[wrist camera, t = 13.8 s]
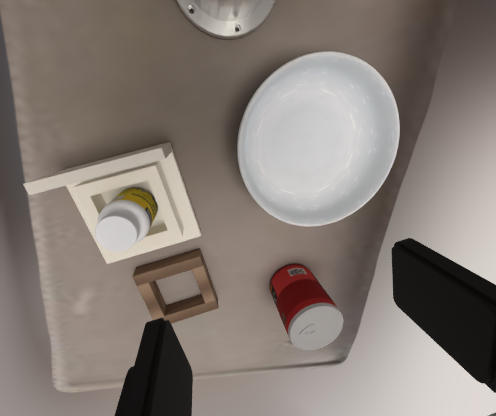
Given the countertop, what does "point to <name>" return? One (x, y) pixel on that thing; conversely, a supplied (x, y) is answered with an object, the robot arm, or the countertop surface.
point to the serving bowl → (318, 138)
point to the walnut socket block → (169, 267)
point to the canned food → (305, 308)
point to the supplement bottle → (126, 219)
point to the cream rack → (123, 177)
